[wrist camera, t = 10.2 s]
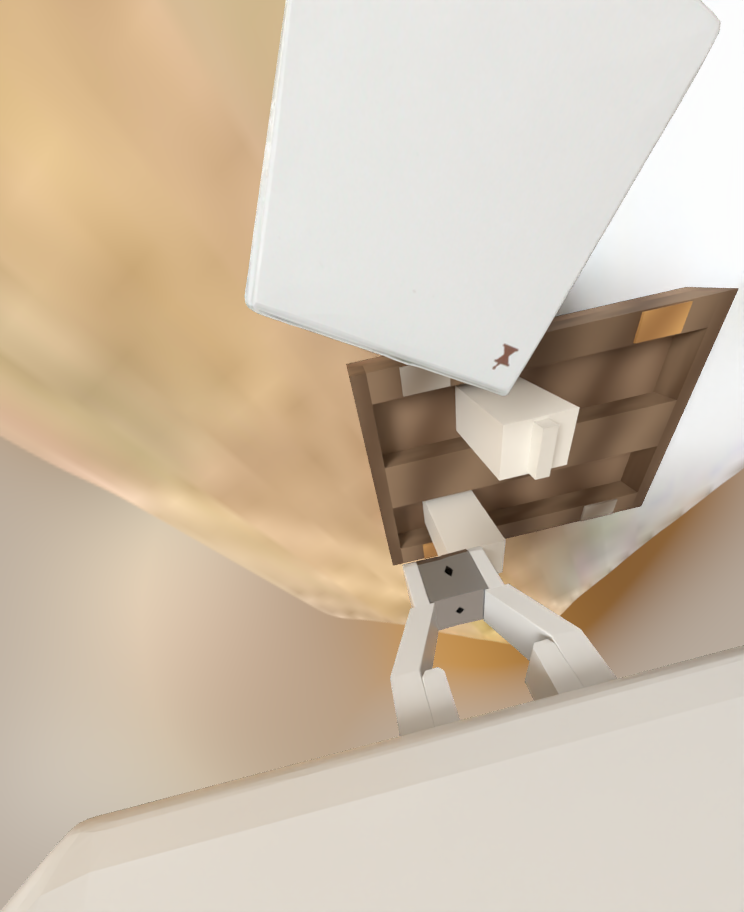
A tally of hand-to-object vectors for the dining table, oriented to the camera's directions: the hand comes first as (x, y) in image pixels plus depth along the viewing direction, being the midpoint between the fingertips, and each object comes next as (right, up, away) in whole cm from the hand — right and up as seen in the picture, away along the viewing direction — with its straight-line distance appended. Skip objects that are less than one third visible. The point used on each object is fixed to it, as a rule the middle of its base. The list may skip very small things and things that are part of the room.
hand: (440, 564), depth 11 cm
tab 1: (+4, 0, +15) cm, 15 cm away
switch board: (+9, +6, +14) cm, 17 cm away
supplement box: (-3, +16, +6) cm, 17 cm away
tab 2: (+5, +8, +10) cm, 14 cm away
